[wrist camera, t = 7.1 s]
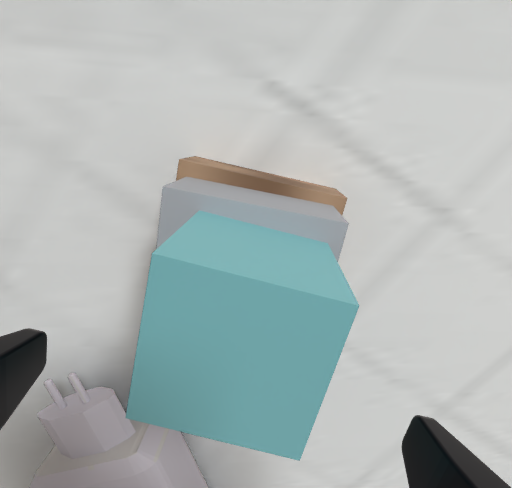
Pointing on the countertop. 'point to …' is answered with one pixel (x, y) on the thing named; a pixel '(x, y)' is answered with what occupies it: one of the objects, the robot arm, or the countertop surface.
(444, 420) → the countertop surface
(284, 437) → the teal cube
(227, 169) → the tower base
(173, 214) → the tower top
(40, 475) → the charger
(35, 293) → the countertop surface
